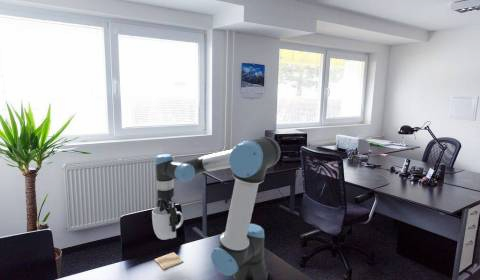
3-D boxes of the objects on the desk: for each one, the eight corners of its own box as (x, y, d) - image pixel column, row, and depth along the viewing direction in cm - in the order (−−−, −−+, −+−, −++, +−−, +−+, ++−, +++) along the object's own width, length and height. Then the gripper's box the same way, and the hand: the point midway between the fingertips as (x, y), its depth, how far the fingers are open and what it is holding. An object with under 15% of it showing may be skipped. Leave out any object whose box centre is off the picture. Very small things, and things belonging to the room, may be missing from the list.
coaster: (183, 262, 142) (183, 260, 142) (163, 270, 136) (163, 268, 136) (173, 253, 150) (173, 251, 150) (154, 260, 144) (154, 259, 144)
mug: (178, 226, 150) (177, 201, 148) (189, 234, 142) (188, 208, 139) (149, 235, 141) (148, 209, 139) (159, 245, 132) (158, 217, 130)
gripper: (185, 193, 130) (186, 240, 134) (162, 180, 148) (164, 221, 152) (169, 197, 125) (171, 245, 129) (147, 183, 143) (149, 226, 147)
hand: (167, 232), depth 140 cm, fingers closed on mug, 11 cm apart
